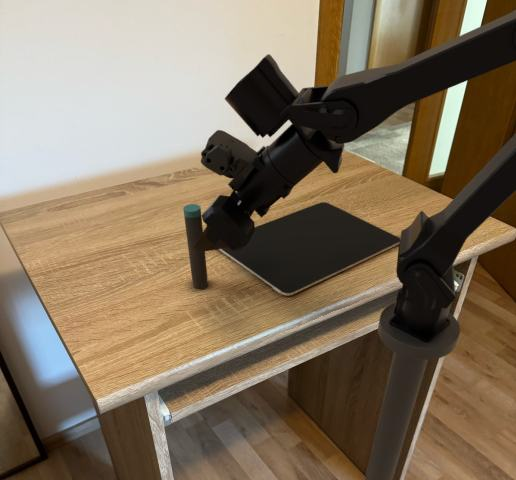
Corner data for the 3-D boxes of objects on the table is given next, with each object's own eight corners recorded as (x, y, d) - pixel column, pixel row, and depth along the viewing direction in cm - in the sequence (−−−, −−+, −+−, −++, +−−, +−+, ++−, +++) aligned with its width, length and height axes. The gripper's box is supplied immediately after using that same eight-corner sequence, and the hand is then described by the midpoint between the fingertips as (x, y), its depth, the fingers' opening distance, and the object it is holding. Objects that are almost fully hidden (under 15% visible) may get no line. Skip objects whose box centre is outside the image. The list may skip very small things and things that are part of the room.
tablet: (286, 295, 73) (211, 243, 85) (285, 299, 73) (211, 246, 85) (403, 239, 85) (324, 201, 97) (402, 243, 85) (323, 204, 97)
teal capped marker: (211, 284, 76) (204, 207, 68) (199, 291, 75) (190, 213, 67) (201, 279, 78) (193, 202, 69) (189, 285, 77) (179, 207, 68)
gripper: (259, 91, 65) (190, 166, 74) (212, 138, 51) (135, 222, 61) (313, 156, 68) (241, 219, 78) (283, 216, 55) (200, 283, 64)
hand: (207, 233), depth 70 cm, fingers open, 9 cm apart
